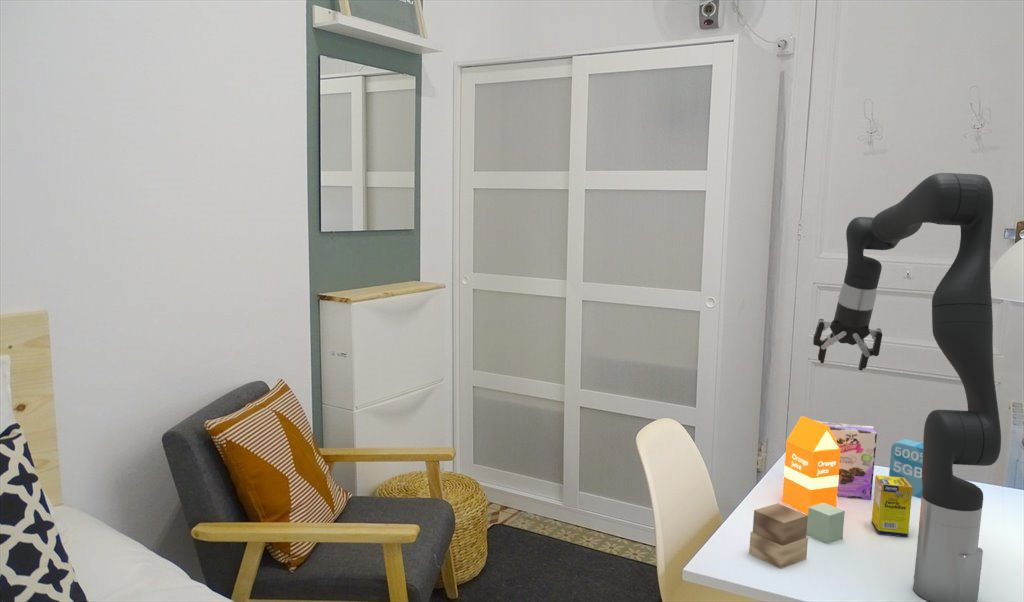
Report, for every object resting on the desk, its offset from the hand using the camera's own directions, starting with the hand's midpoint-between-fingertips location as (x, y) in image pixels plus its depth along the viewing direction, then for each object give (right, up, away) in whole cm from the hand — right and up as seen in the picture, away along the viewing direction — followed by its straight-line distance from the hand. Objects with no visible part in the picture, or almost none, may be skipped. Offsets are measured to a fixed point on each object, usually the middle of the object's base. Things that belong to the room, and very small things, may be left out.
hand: (840, 365), depth 185 cm
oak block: (-26, -35, -32) cm, 54 cm away
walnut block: (-26, -30, -33) cm, 52 cm away
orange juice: (-10, -32, -7) cm, 34 cm away
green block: (-13, -33, -23) cm, 43 cm away
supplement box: (+2, -33, -19) cm, 39 cm away
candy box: (0, -31, +2) cm, 31 cm away
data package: (+19, -31, +3) cm, 37 cm away
